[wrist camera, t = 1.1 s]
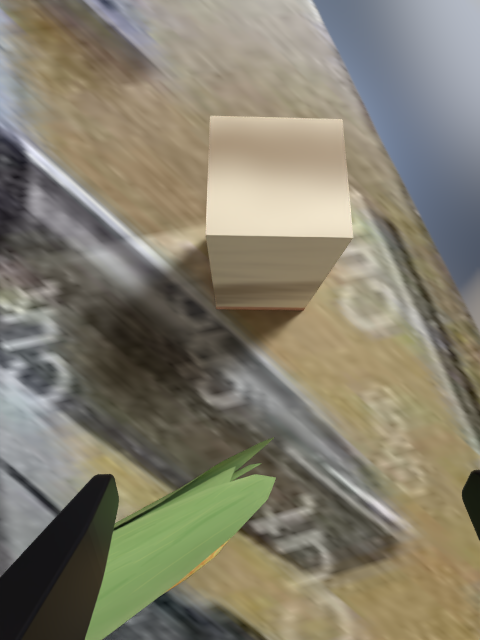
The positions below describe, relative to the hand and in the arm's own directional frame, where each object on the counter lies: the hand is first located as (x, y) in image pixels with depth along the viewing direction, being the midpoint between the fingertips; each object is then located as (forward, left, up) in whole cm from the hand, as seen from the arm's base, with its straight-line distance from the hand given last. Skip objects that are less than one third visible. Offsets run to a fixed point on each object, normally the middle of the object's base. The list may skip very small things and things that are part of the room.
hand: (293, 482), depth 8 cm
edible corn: (-3, +9, -14) cm, 16 cm away
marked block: (+11, -5, -13) cm, 18 cm away
